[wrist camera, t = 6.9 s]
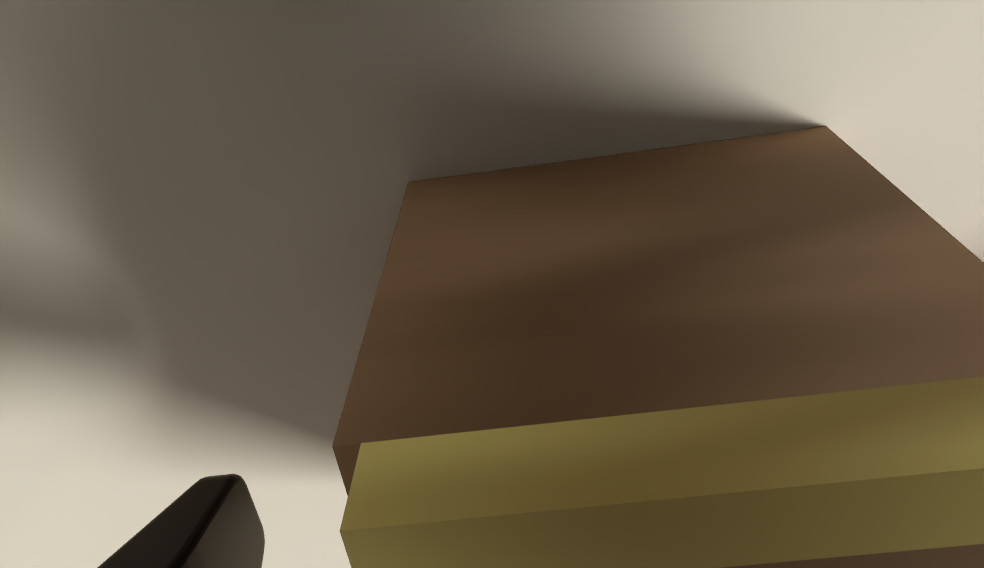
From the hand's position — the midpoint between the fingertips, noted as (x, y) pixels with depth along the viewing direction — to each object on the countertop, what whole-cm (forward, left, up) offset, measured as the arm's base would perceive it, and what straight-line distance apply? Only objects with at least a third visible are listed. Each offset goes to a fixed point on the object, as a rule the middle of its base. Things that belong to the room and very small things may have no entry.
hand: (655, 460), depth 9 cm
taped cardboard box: (0, 0, -3) cm, 3 cm away
